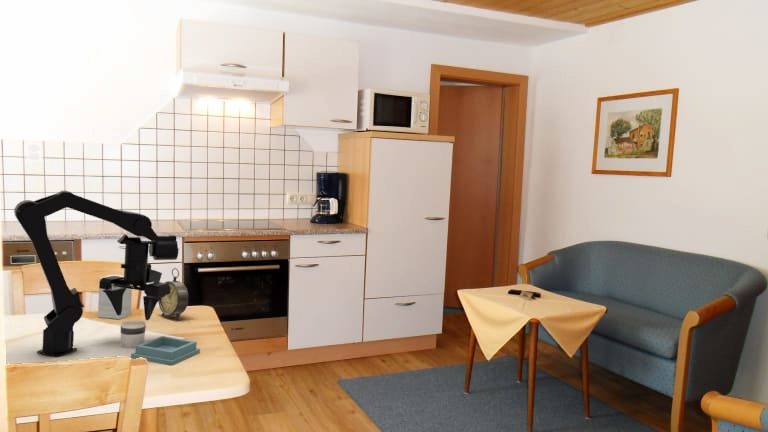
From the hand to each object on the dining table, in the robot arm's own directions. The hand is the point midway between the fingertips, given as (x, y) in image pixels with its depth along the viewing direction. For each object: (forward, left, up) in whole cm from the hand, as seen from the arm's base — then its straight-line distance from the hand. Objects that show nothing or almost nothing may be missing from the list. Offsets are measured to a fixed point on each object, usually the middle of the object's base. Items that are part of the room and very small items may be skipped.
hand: (133, 317), depth 157 cm
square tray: (-3, -13, -8) cm, 15 cm away
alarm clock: (+30, +9, -8) cm, 32 cm away
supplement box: (+22, +25, -8) cm, 34 cm away
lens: (0, 0, -8) cm, 8 cm away
